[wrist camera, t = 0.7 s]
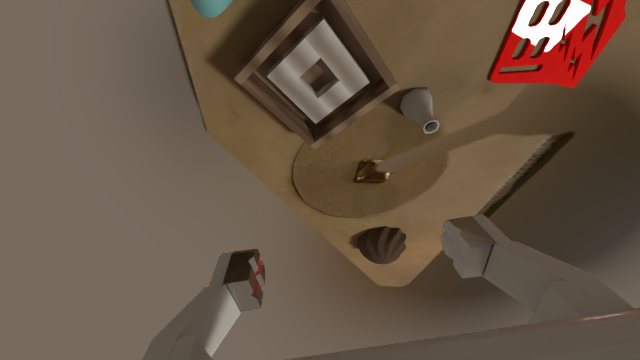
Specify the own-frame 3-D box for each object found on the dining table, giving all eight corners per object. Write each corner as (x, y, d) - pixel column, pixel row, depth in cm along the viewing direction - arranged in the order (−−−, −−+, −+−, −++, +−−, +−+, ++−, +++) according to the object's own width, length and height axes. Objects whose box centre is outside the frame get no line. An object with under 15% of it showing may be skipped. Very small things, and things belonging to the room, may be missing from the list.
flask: (400, 119, 59) (413, 145, 52) (397, 93, 54) (411, 117, 47) (431, 110, 57) (449, 136, 50) (431, 82, 52) (451, 106, 45)
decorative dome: (354, 251, 106) (357, 274, 99) (361, 226, 91) (365, 250, 84) (397, 250, 107) (404, 273, 100) (411, 225, 92) (420, 249, 86)
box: (325, -30, 38) (327, -25, 34) (392, 75, 51) (400, 88, 47) (240, 66, 48) (233, 79, 44) (313, 134, 60) (314, 149, 56)
